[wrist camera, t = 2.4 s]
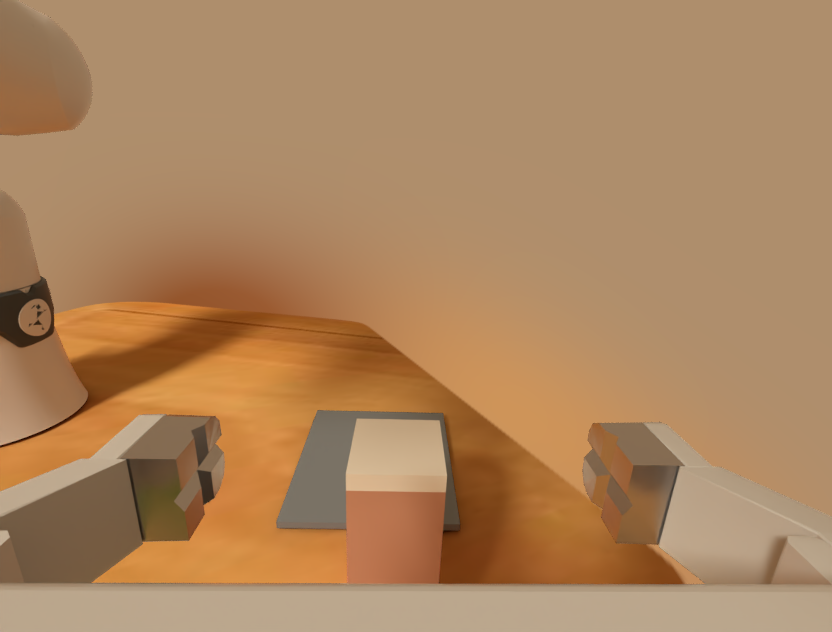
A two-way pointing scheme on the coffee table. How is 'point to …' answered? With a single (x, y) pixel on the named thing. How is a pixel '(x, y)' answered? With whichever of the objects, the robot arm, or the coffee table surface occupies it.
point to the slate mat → (342, 472)
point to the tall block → (395, 502)
